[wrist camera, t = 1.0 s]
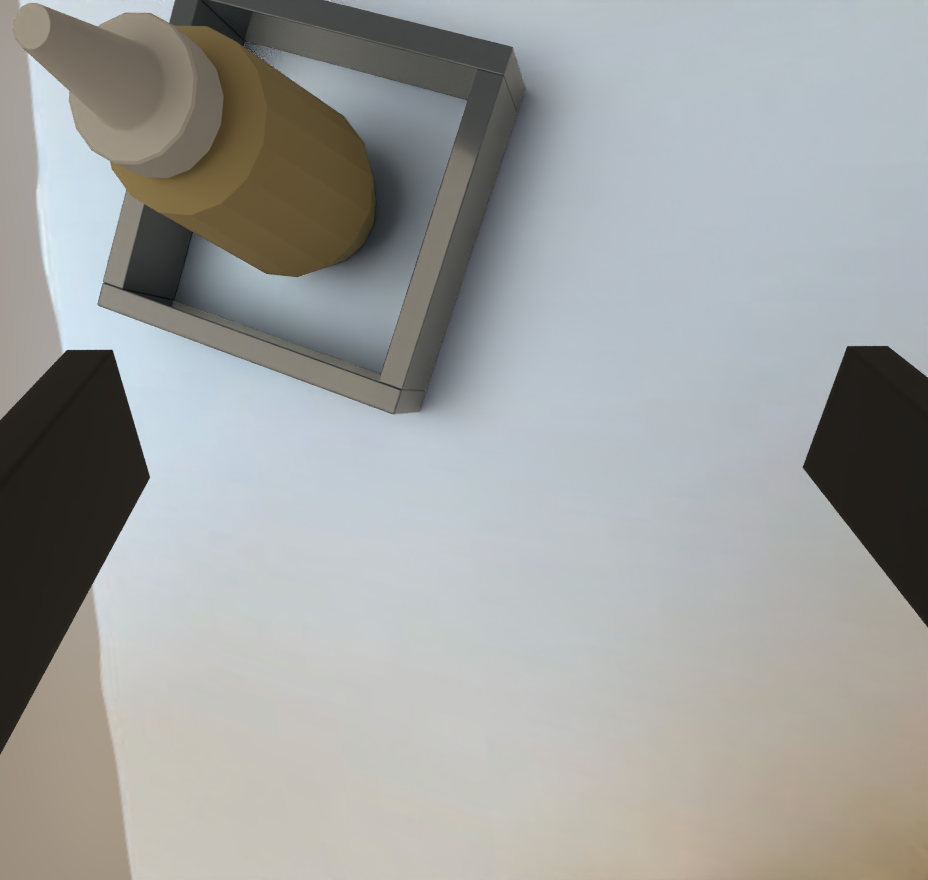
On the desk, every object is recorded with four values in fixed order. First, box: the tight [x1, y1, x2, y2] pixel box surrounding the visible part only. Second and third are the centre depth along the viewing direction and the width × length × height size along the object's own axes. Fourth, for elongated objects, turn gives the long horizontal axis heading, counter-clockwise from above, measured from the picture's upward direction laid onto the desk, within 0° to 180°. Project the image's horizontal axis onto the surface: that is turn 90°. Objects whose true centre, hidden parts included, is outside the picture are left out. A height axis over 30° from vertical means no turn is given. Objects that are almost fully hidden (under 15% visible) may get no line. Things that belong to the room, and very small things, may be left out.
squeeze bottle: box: [13, 3, 376, 277], centre depth 27 cm, size 8×8×18 cm
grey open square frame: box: [98, 0, 525, 414], centre depth 33 cm, size 16×16×4 cm
